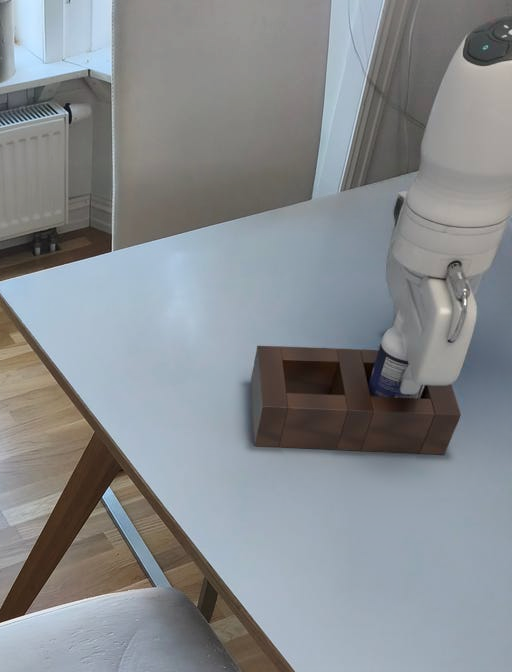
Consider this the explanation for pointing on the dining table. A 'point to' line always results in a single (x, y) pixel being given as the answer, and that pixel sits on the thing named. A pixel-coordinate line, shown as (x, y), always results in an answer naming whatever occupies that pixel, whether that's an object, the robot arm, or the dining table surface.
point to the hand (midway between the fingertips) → (402, 370)
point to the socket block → (342, 405)
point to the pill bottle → (390, 365)
